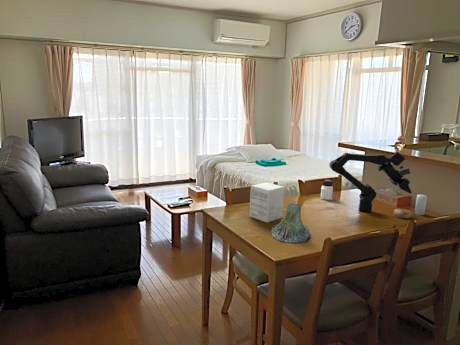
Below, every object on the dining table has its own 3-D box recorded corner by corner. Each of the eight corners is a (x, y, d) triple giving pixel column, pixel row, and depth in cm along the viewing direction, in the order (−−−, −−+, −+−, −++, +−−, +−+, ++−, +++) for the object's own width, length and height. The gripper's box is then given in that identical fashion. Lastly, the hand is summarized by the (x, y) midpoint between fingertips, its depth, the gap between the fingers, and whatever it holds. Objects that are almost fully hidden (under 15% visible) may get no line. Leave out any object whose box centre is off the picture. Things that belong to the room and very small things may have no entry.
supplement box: (264, 211, 211) (266, 181, 207) (282, 217, 202) (284, 186, 198) (248, 216, 202) (250, 185, 198) (267, 222, 192) (269, 190, 189)
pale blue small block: (415, 214, 215) (418, 196, 212) (413, 211, 220) (416, 194, 217) (425, 215, 213) (428, 197, 211) (423, 212, 218) (425, 194, 216)
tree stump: (262, 238, 173) (267, 200, 173) (279, 235, 190) (283, 201, 190) (299, 245, 163) (304, 205, 164) (314, 242, 180) (318, 205, 181)
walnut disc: (395, 217, 207) (395, 212, 207) (392, 213, 216) (393, 208, 215) (412, 219, 205) (413, 214, 205) (409, 214, 214) (409, 209, 213)
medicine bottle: (332, 200, 239) (333, 182, 237) (321, 199, 241) (322, 181, 238) (331, 197, 246) (333, 179, 244) (320, 196, 247) (322, 179, 245)
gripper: (408, 165, 202) (426, 185, 204) (396, 159, 221) (413, 178, 222) (391, 178, 205) (409, 198, 206) (381, 171, 223) (398, 190, 224)
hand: (408, 191), depth 214 cm, fingers open, 9 cm apart
